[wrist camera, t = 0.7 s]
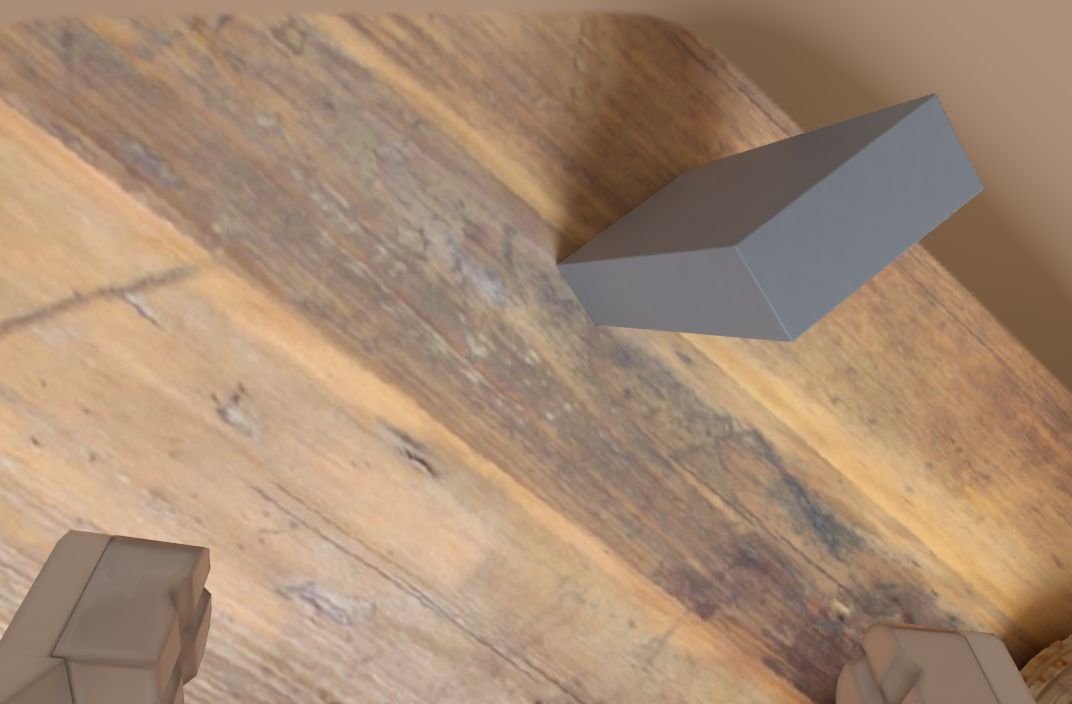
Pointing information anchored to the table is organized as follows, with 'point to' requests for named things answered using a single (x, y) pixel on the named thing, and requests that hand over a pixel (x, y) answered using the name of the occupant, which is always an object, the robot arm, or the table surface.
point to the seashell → (1051, 674)
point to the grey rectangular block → (777, 228)
